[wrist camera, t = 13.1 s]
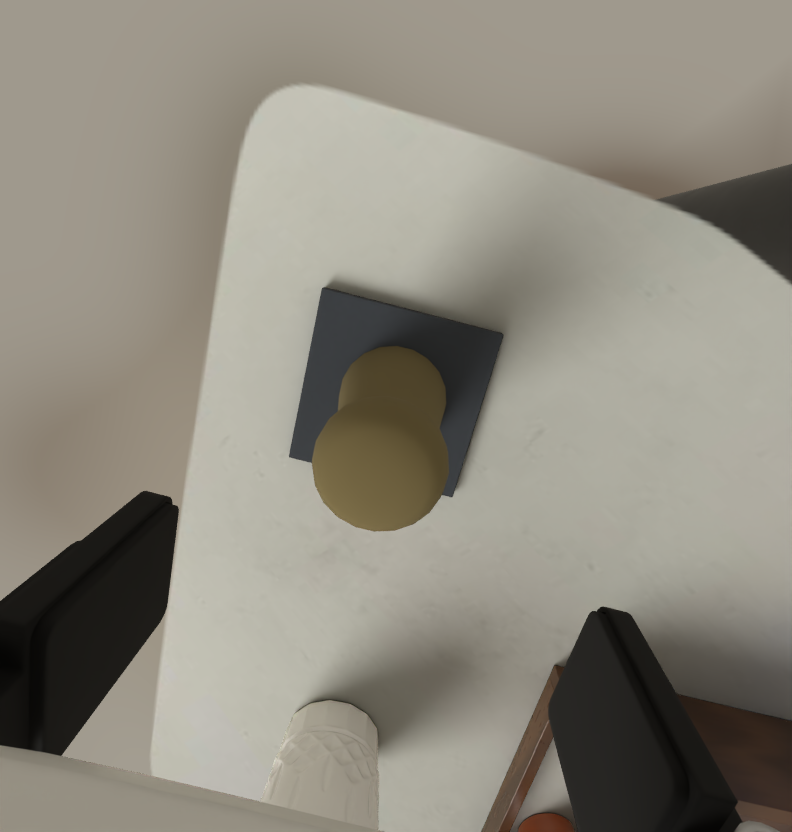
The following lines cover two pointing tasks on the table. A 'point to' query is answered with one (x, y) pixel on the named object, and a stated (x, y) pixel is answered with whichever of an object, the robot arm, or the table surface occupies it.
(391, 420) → the pepper shaker
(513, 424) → the table surface
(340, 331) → the mat
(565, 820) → the spice jar
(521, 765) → the spice rack
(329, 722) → the white cup
